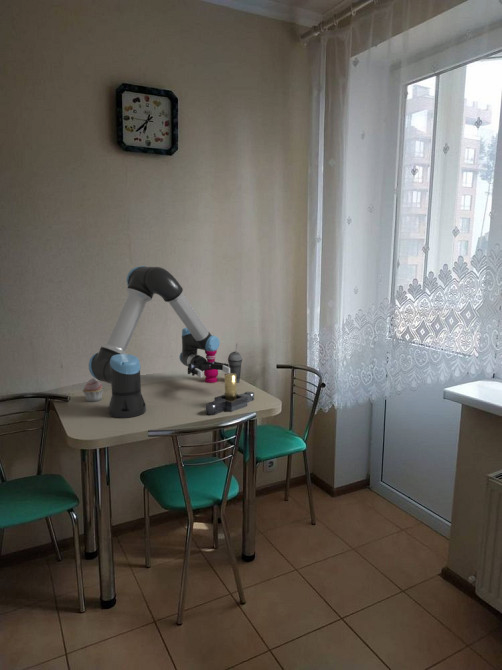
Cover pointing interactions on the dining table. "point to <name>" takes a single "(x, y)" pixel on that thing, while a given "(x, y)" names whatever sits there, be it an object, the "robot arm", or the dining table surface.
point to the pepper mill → (212, 374)
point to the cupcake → (93, 390)
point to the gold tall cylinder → (230, 386)
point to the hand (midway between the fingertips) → (215, 372)
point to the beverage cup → (235, 364)
